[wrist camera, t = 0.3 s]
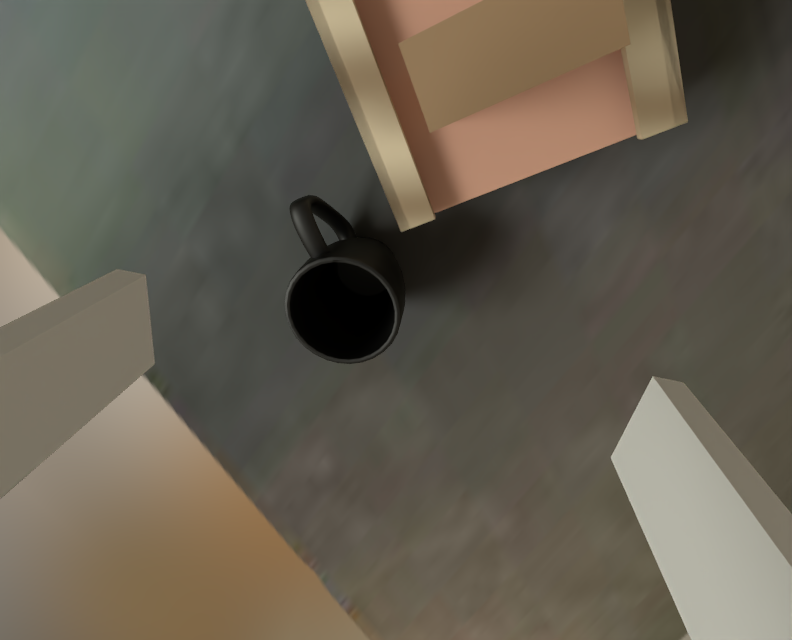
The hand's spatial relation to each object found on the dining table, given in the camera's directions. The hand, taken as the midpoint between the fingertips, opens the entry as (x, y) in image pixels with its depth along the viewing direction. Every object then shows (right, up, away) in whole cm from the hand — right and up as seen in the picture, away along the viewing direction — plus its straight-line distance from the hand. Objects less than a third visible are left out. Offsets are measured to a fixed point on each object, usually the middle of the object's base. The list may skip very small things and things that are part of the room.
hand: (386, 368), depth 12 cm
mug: (-3, +8, +27) cm, 28 cm away
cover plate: (+5, +17, +13) cm, 22 cm away
